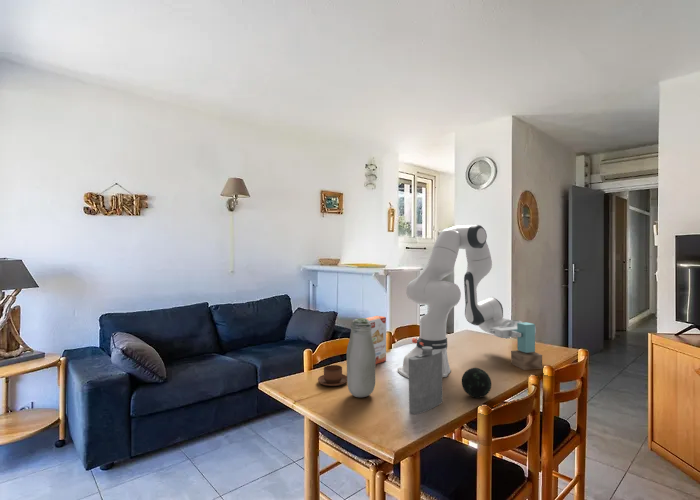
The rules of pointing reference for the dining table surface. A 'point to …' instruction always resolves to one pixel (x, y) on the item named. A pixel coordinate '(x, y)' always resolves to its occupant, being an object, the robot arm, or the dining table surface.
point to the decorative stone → (476, 382)
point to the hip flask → (425, 380)
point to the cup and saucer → (332, 376)
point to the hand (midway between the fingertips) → (527, 334)
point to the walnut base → (526, 360)
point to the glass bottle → (361, 359)
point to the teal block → (526, 337)
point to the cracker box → (379, 337)
